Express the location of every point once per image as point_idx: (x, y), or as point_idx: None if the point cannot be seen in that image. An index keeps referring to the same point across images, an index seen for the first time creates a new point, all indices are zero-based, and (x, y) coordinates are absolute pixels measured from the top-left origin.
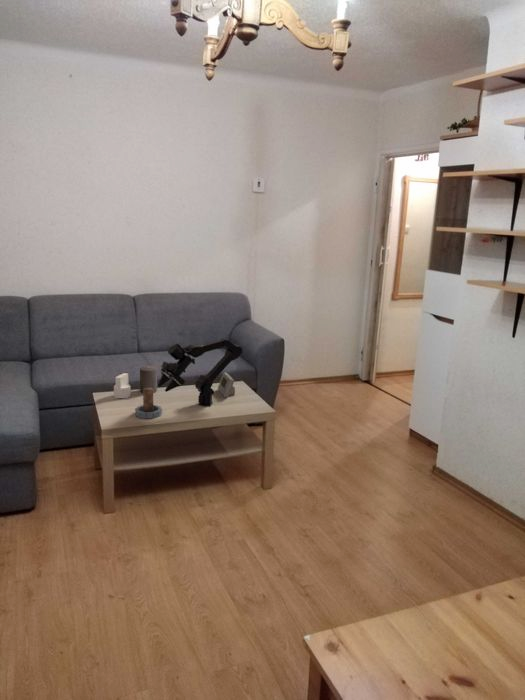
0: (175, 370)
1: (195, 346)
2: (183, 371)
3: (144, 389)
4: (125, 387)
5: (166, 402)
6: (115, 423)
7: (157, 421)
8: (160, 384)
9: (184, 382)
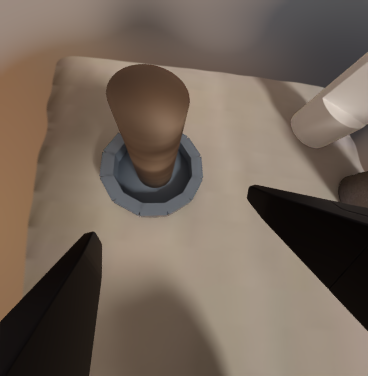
0: None
1: None
2: None
3: (147, 72)
4: (333, 111)
5: (262, 247)
6: (101, 80)
7: (67, 193)
8: (264, 206)
9: None
